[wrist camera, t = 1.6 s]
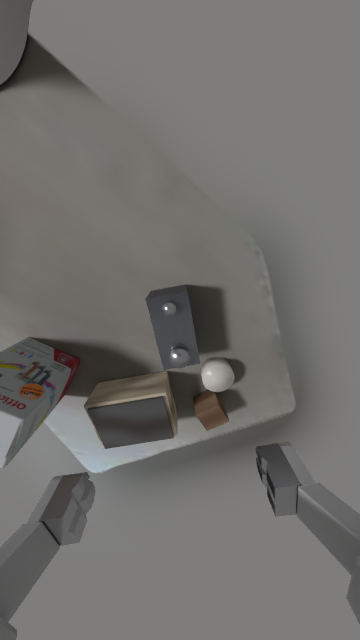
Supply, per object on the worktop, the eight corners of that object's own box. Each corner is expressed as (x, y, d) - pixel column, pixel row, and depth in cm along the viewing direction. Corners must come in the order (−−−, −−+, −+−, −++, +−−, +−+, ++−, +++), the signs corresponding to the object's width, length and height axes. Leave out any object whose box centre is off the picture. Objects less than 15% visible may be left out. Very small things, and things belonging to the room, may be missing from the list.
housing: (151, 290, 26) (144, 300, 20) (185, 284, 26) (188, 292, 20) (165, 351, 29) (163, 374, 24) (196, 345, 29) (201, 367, 24)
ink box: (82, 358, 29) (24, 422, 18) (64, 396, 32) (4, 472, 21) (27, 334, 28) (-73, 388, 16) (13, 375, 30) (-83, 447, 19)
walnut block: (193, 396, 32) (195, 415, 29) (213, 386, 32) (218, 404, 28) (203, 411, 34) (207, 430, 30) (223, 402, 33) (229, 421, 29)
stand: (97, 382, 31) (82, 408, 26) (167, 370, 30) (165, 394, 25) (113, 421, 34) (103, 451, 29) (177, 411, 33) (177, 439, 28)
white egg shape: (198, 359, 30) (200, 368, 28) (228, 354, 30) (233, 362, 27) (202, 384, 32) (205, 394, 29) (231, 379, 31) (235, 389, 29)
